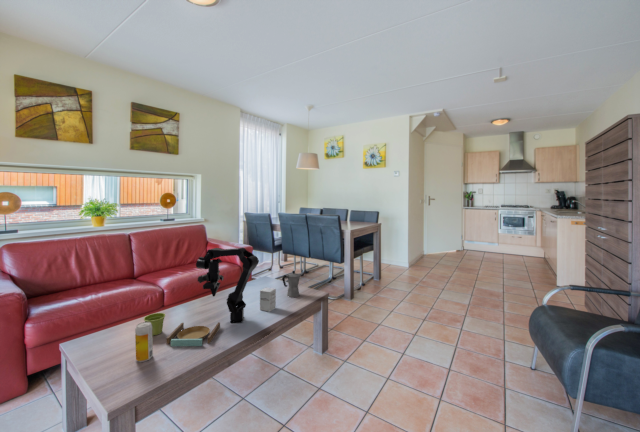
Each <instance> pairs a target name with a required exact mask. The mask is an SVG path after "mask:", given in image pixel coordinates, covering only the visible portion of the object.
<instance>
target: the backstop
mask: <svg viewBox="0 0 640 432" xmlns="http://www.w3.org/2000/svg"><path fill="white" fill-rule="evenodd" d="M202 346H203V339H179V338H174V339H171V342H170V347H202Z"/></svg>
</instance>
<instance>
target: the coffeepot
mask: <svg viewBox="0 0 640 432" xmlns="http://www.w3.org/2000/svg"><path fill="white" fill-rule="evenodd" d="M302 275H303V274H302V273H295V270H292V273H288V274H287V273H286V274H285V275H283V276H282V278H281V280H282V283H283V286H284V287H288V288H287V294H286V296H287V297H288V296H289V297H288V298H292V297H294V298H298V297H300V289H299V282H300V277H301V276H302ZM285 279H287V281H288V284H287V283H286V280H285ZM297 296H298V297H297Z"/></svg>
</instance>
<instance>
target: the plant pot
mask: <svg viewBox="0 0 640 432" xmlns="http://www.w3.org/2000/svg"><path fill="white" fill-rule="evenodd" d="M165 317H166V313H164V312H156V313H150V314H148V315H146V316H144V317H143V322H151V324H152V337H154V336H157V335H160V334H162V332H163V327H164V321H165Z"/></svg>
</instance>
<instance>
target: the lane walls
mask: <svg viewBox="0 0 640 432" xmlns="http://www.w3.org/2000/svg"><path fill="white" fill-rule="evenodd" d="M184 326H185V324H184V322H181V323H180V324H179V325H178V326H177V327H176V328H175V329H174V330H173V331H172V332H171V333H170V334H168V335H167V336H166V338H165V343H166V345H169V344H171V339H176V337H177V335H178V333H179V332H180V331H181V330H182V329H183V330H184V329H185V327H184ZM220 328H221V322H217V324H215V326H214V327H213V329H212V331H210V332H209V334H208V335H207V336H206V337H207V339H206V340H207V344H211V342H212V341H213V339H214V338H215V336H216V335H217V333H218V331H220Z"/></svg>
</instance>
